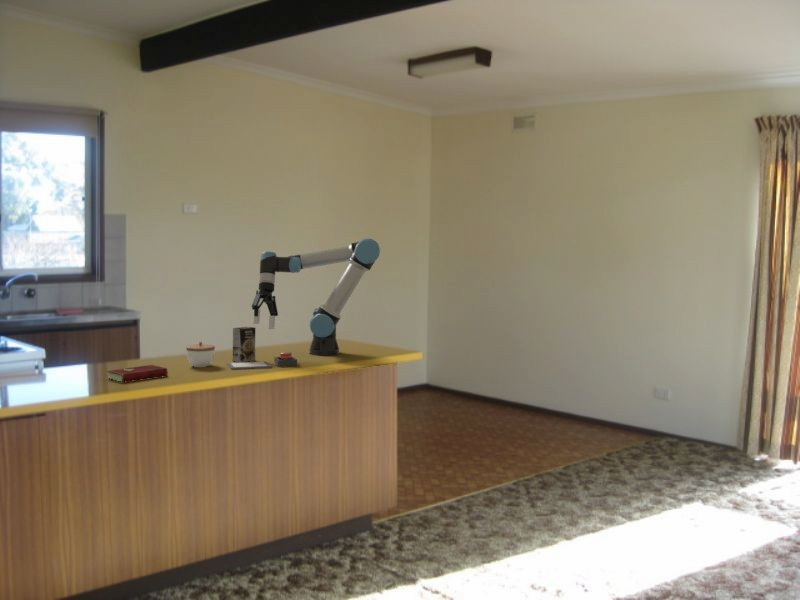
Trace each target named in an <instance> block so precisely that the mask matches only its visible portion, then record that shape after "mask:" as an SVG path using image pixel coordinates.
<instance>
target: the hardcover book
mask: <svg viewBox="0 0 800 600" xmlns="http://www.w3.org/2000/svg"><path fill="white" fill-rule="evenodd" d="M106 372H107V374H108V378H110V379H109V380H111V379H114V380H113V381H115V380H117V381H116V382H118V381H122V382H125V381H132V380H139V381H141V380H140V379H145V380H148V379H147V378H152V379H155V378H154V377H159V378H163V377H162V376H166V377H168V376H169V375H168V372H169V370H168V368H167V367H166V366H165V367H164V366H160V365H157V364H156V365H155V364H146V365H138V366H130V367H125V368H124V367H123V368H117V369H108V370H106ZM122 382H121V383H122ZM132 382H133V381H132ZM125 383H126V382H125Z"/></svg>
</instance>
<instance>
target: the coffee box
mask: <svg viewBox="0 0 800 600" xmlns="http://www.w3.org/2000/svg"><path fill="white" fill-rule="evenodd" d="M254 360H255V361H256V327H252V326H241V327H233V328H232V362H233V361H235V362H234V363H238V362H248V361H251V362H255V361H254Z"/></svg>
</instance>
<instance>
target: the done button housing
mask: <svg viewBox="0 0 800 600" xmlns="http://www.w3.org/2000/svg"><path fill="white" fill-rule="evenodd" d="M274 363H275V364H276V365H277V366H276V365H275V364H274ZM273 364H274V365H275V366H276V367H278V366H287V367H298V359H297V358H296V357H294V356H291V359H290V360H280V356H275V357H273Z"/></svg>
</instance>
